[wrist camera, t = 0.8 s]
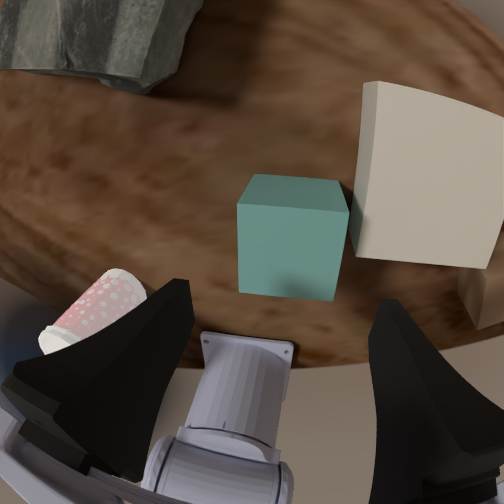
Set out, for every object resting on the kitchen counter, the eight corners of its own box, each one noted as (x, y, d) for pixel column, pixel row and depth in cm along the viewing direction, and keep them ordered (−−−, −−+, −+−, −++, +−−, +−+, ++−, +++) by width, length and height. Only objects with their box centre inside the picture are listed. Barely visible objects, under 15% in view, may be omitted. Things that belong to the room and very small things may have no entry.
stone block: (176, 98, 16) (131, 105, 11) (31, 79, 16) (-16, 89, 11) (218, -28, 11) (187, -61, 7) (56, -17, 11) (10, -23, 6)
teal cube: (328, 252, 19) (332, 301, 15) (254, 246, 20) (239, 292, 16) (338, 180, 17) (349, 213, 12) (254, 173, 17) (237, 203, 13)
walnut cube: (499, 278, 18) (523, 313, 14) (456, 291, 19) (476, 330, 15) (504, 230, 16) (535, 262, 12) (459, 242, 17) (486, 278, 13)
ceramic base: (464, 241, 17) (485, 269, 14) (348, 228, 18) (355, 256, 15) (491, 117, 12) (522, 126, 9) (363, 83, 13) (378, 80, 10)
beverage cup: (126, 322, 27) (56, 439, 15) (86, 275, 24) (-5, 385, 13) (168, 306, 24) (92, 450, 12) (122, 249, 22) (11, 383, 10)
